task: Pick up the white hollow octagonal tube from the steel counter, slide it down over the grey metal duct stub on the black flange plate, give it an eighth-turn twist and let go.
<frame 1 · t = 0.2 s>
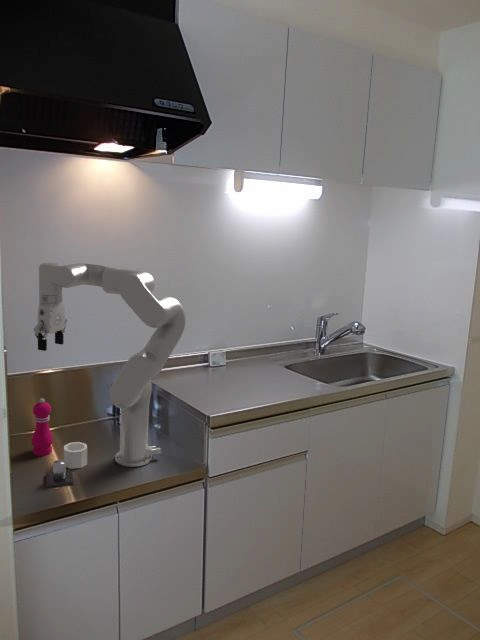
hand: (50, 347, 193), 37 cm above the counter, tool pointing down, fingers open, 9 cm apart
pepper mill: (42, 452, 194), on the counter
duct stub: (59, 479, 176), on the counter
white hollow octagonal tube: (75, 463, 187), on the counter
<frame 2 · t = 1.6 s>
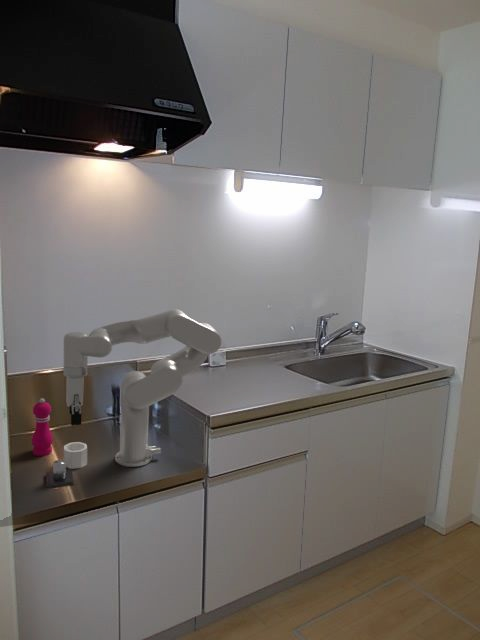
hand: (75, 419, 184), 16 cm above the counter, tool pointing down, fingers open, 9 cm apart
nothing on the counter moved.
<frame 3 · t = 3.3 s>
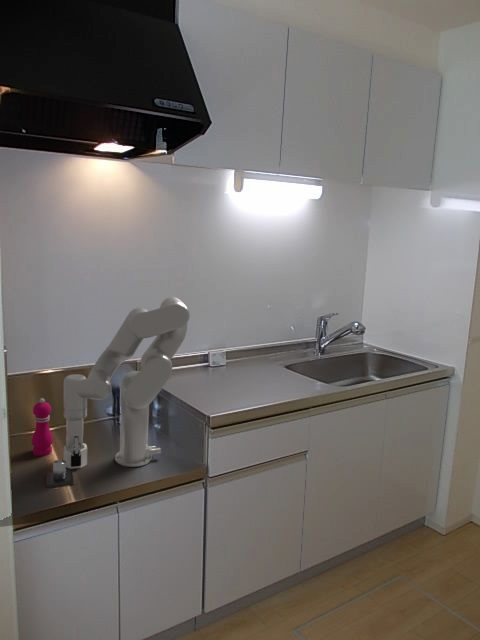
hand: (75, 460, 187), 1 cm above the counter, tool pointing down, fingers closed on white hollow octagonal tube, 7 cm apart
white hollow octagonal tube: (75, 463, 187), on the counter, touching gripper
everything else where it was.
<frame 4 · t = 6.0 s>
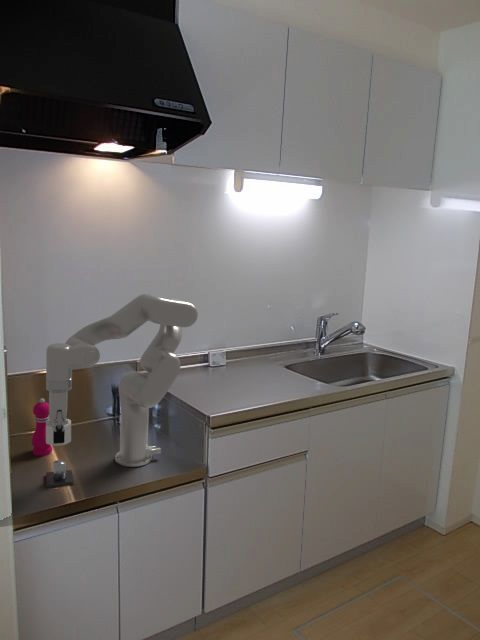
hand: (58, 437, 173), 15 cm above the counter, tool pointing down, fingers closed on white hollow octagonal tube, 7 cm apart
white hollow octagonal tube: (58, 440, 173), point 14 cm above the counter, touching gripper
everything else where it was.
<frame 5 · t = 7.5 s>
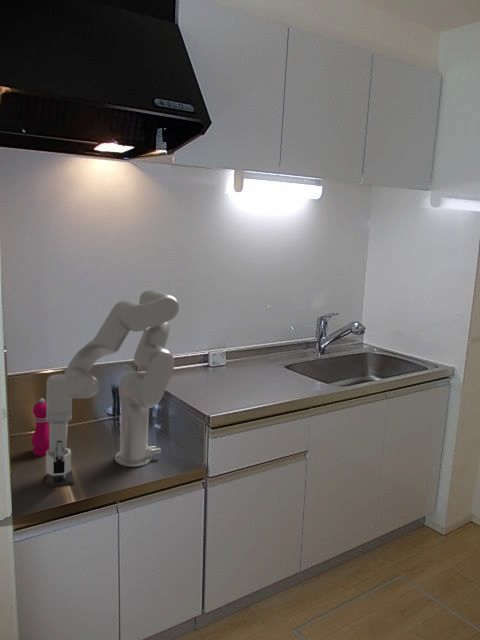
hand: (58, 466, 175), 5 cm above the counter, tool pointing down, fingers closed on white hollow octagonal tube, 7 cm apart
white hollow octagonal tube: (58, 469, 175), point 4 cm above the counter, touching gripper
everything else where it was.
when the fingers open (3 cm above the counter, at t = 8.7 s): white hollow octagonal tube stays where it is, resting on duct stub.
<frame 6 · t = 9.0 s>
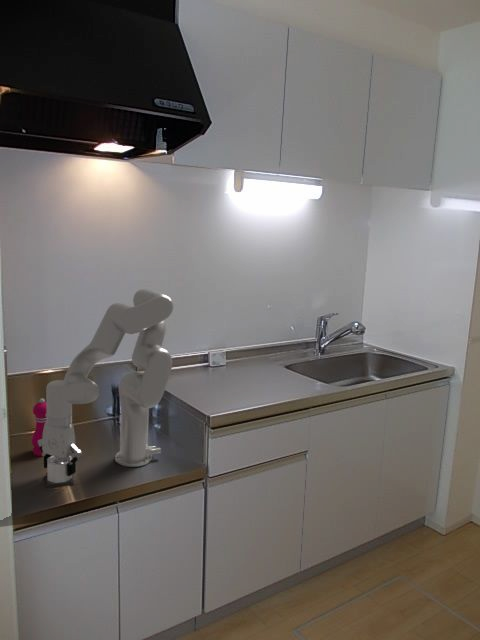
hand: (59, 470, 175), 3 cm above the counter, tool pointing down, fingers open, 9 cm apart
white hollow octagonal tube: (59, 476, 176), point 1 cm above the counter, touching duct stub
everything else where it was.
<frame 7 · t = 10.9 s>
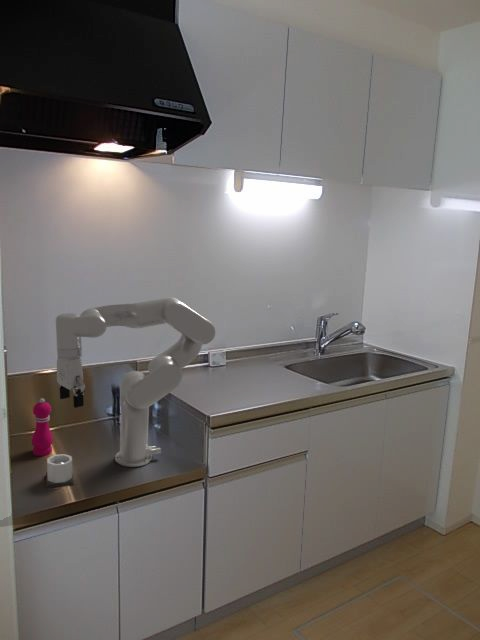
hand: (71, 402, 180), 23 cm above the counter, tool pointing down, fingers open, 9 cm apart
nothing on the counter moved.
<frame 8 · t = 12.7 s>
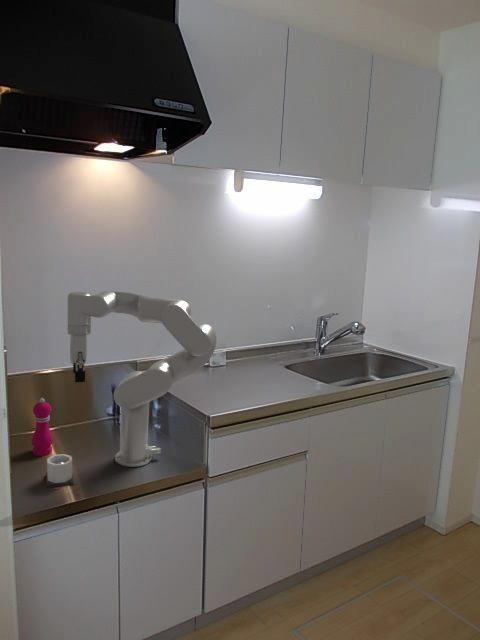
hand: (79, 377, 188), 28 cm above the counter, tool pointing down, fingers open, 9 cm apart
nothing on the counter moved.
at the end: white hollow octagonal tube 0.1 cm off-centre on the duct stub, point 1.0 cm above the duct stub's base; white hollow octagonal tube tilted 0°; the gripper is holding nothing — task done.
